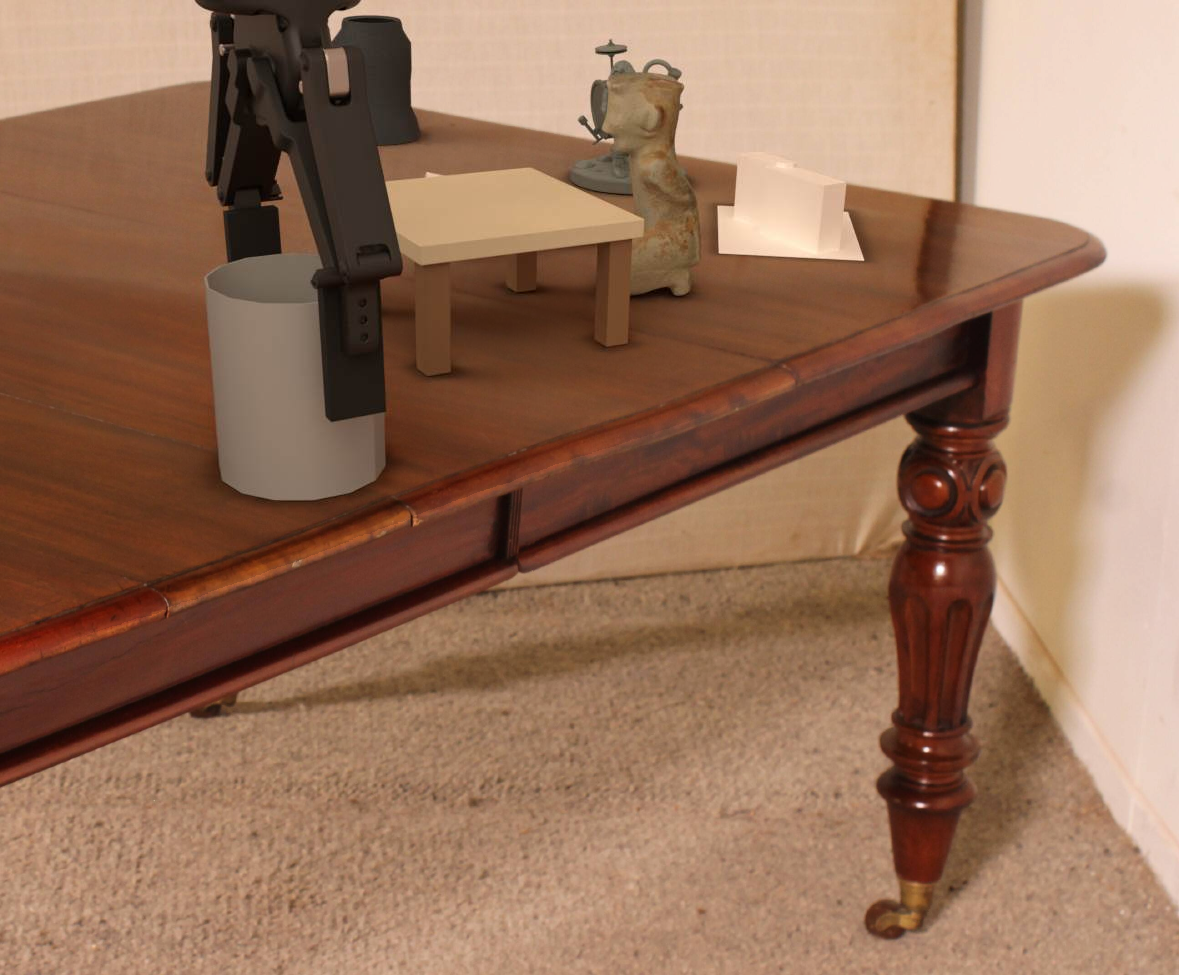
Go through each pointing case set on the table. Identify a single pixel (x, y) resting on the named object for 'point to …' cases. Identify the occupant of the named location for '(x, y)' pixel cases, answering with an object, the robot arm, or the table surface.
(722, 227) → the napkin holder
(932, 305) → the table surface
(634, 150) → the sculpture
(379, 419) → the cup
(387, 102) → the mug
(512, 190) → the side table
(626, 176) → the figurine
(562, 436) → the table surface
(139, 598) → the table surface
